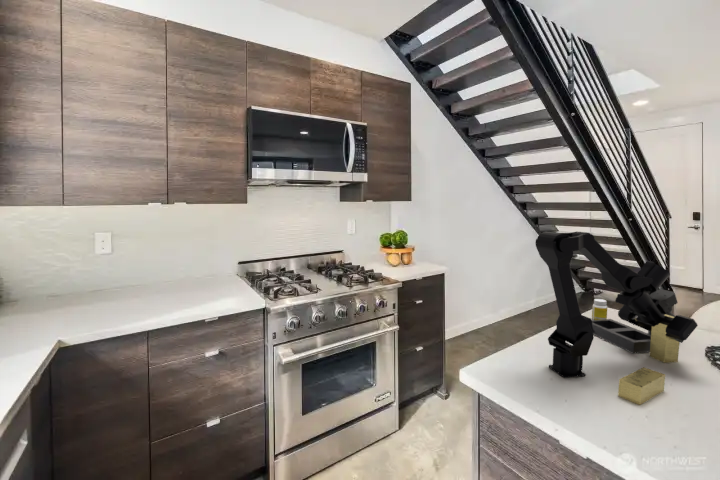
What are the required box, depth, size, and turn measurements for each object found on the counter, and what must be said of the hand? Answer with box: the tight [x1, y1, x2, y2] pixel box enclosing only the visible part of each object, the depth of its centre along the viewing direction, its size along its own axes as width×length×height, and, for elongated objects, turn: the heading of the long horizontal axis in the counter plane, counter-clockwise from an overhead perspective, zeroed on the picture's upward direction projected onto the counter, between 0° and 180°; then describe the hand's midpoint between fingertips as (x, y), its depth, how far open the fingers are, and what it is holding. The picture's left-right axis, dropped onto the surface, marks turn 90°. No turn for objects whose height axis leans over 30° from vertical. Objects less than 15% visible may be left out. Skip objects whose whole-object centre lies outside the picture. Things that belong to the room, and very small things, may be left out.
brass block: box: [649, 314, 680, 364], centre depth 105 cm, size 6×6×12 cm
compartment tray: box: [591, 318, 651, 354], centre depth 120 cm, size 10×20×4 cm, turn 8°
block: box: [617, 366, 666, 406], centre depth 87 cm, size 12×4×4 cm, turn 119°
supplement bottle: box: [591, 298, 608, 320], centre depth 137 cm, size 5×5×8 cm
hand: (668, 336), depth 105 cm, fingers open, 7 cm apart
